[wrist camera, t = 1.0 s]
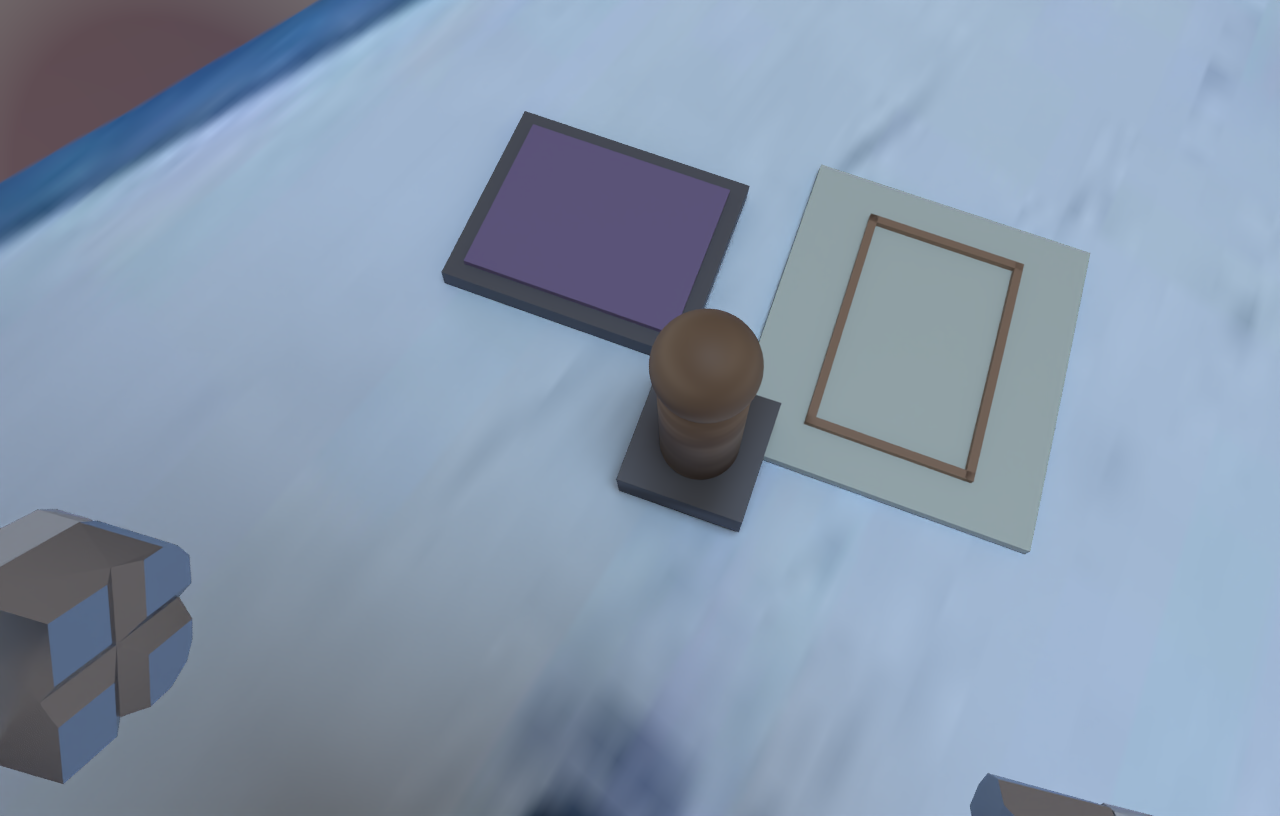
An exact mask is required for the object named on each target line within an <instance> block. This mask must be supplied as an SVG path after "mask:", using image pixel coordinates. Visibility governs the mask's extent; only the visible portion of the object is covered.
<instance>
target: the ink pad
mask: <svg viewBox="0 0 1280 816" xmlns="http://www.w3.org/2000/svg"><path fill="white" fill-rule="evenodd" d="M749 187H750V186H748V185H745V184H742V183H739V182H736V181H733V180H730V179H727V178H724V177H721V176H718V175H715V174H712V173H709V172H706V171H703V170H700V169H697V168H694V167H691V166H688V165H685V164H682V163H679V162H676V161H673V160H670V159H667V158H664V157H661V156H658V155H655V154H652V153H649V152H646V151H643V150H640V149H637V148H634V147H631V146H628V145H625V144H622V143H619V142H616V141H613V140H610V139H607V138H604V137H601V136H598V135H595V134H592V133H589V132H586V131H583V130H580V129H577V128H574V127H571V126H568V125H565V124H562V123H559V122H556V121H553V120H550V119H547V118H544V117H541V116H538V115H535V114H532V113H529V112H526V111H525V112H524V114H523V116H522V118H521V120H520V122H519V124H518V125H517V127H516V129H515V131H514V133H513V135H512V137H511V139H510V141H509V143H508V145H507V147H506V149H505V151H504V153H503V154H502V156H501V158H500V160H499V162H498V164H497V166H496V168H495V170H494V172H493V174H492V176H491V178H490V180H489V182H488V183H487V185H486V187H485V189H484V191H483V193H482V195H481V197H480V199H479V201H478V203H477V205H476V207H475V209H474V211H473V212H472V214H471V216H470V218H469V220H468V222H467V224H466V226H465V228H464V230H463V232H462V234H461V236H460V238H459V239H458V241H457V243H456V245H455V247H454V249H453V251H452V253H451V255H450V257H449V259H448V261H447V263H446V265H445V267H444V268H443V270H442V275H443V278H444V281H445V283H447V284H450V285H453V286H456V287H458V288H461V289H464V290H467V291H470V292H472V293H475V294H478V295H481V296H484V297H487V298H489V299H492V300H495V301H498V302H501V303H504V304H506V305H509V306H512V307H515V308H518V309H521V310H523V311H526V312H529V313H532V314H535V315H538V316H540V317H543V318H546V319H549V320H552V321H555V322H557V323H560V324H563V325H566V326H569V327H572V328H574V329H577V330H580V331H583V332H586V333H589V334H591V335H594V336H597V337H600V338H603V339H605V340H608V341H611V342H614V343H617V344H620V345H622V346H625V347H628V348H631V349H634V350H637V351H639V352H642V353H645V354H648V355H650V353H651V349H652V346H653V344H654V342H655V340H656V338H657V336H658V335H659V333H660V331H661V330H662V329H663V328H664V327H665V326H666V325H667V324H668V323H669V322H670V321H672V320H673V319H674V318H676V317H677V316H679V315H681V314H683V313H686V312H688V311H692V310H696V309H704V307H705V305H706V302H707V300H708V297H709V294H710V292H711V289H712V287H713V284H714V281H715V279H716V276H717V273H718V271H719V268H720V266H721V263H722V260H723V258H724V255H725V253H726V250H727V247H728V245H729V242H730V239H731V237H732V234H733V232H734V229H735V226H736V224H737V221H738V219H739V216H740V213H741V211H742V208H743V205H744V203H745V200H746V197H747V194H748V190H749Z"/></svg>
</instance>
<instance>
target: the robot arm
mask: <svg viewBox="0 0 1280 816" xmlns="http://www.w3.org/2000/svg"><path fill="white" fill-rule="evenodd" d="M190 584H191V570H190V557H189V555H188V554H187V553H186V552H185V551H184V550H183V549H181V548H180V547H179V546H178V545H175V544H172V543H168V542H165V541H162V540H159V539H155V538H152V537H149V536H146V535H142V534H139V533H136V532H133V531H129V530H126V529H123V528H120V527H116V526H113V525H110V524H107V523H103V522H100V521H93V520H91V519H88V518H85V517H82V516H78V515H75V514H71V513H68V512H65V511H61V510H58V509H40V510H36V511H34V512H32V513H30V514H28V515H26V516H24V517H22V518H20V519H18V520H16V521H14V522H12V523H11V524H9V525H7V526H5V527H3V528H1V529H0V766H3V767H7V768H10V769H14V770H17V771H20V772H24V773H27V774H31V775H34V776H38V777H41V778H44V779H48V780H51V781H55V782H58V783H62V784H64V783H65V782H66V781H67V780H68V779H70V778H71V777H72V776H73V775H74V774H75V773H76V772H78V771H79V770H80V769H81V768H82V767H83V766H84V765H85V764H87V763H88V762H89V761H90V760H91V759H92V758H93V757H94V756H96V755H97V754H98V753H99V752H100V751H101V750H102V749H104V748H105V747H106V746H107V745H108V744H109V743H110V742H111V741H113V740H114V739H115V738H116V737H117V735H118V729H119V722H120V717H122V716H125V715H128V714H130V713H133V712H136V711H139V710H142V709H145V708H148V707H151V706H152V705H153V704H154V703H155V702H156V701H157V700H158V699H159V698H160V697H161V696H162V695H164V694H165V693H166V692H167V691H168V690H169V689H170V688H171V687H172V685H173V684H174V682H175V680H176V679H177V677H178V675H179V674H180V672H181V670H182V669H183V667H184V665H185V663H186V662H187V659H188V655H189V651H190V647H191V643H192V618H191V616H190V614H189V613H188V611H187V609H186V608H185V606H184V605H183V603H182V601H181V600H180V598H179V596H180V595H181V594H182V593H183V592H184V590H185V589H186V588H187V587H188V586H189V585H190ZM970 810H971V816H1152V815H1148V814H1144V813H1141V812H1137V811H1133V810H1129V809H1125V808H1121V807H1117V806H1113V805H1109V804H1105V803H1103V804H1098V803H1094V802H1091V801H1087V800H1084V799H1080V798H1076V797H1073V796H1069V795H1065V794H1062V793H1058V792H1054V791H1051V790H1047V789H1044V788H1040V787H1036V786H1033V785H1029V784H1025V783H1022V782H1018V781H1015V780H1011V779H1007V778H1004V777H1000V776H996V775H993V774H989V773H987V775H986V776H985V777H984V778H983V780H982V781H981V782H980V783H979V785H978V787H977V790H976V792H975V794H974V797H973V799H972V802H971V804H970Z"/></svg>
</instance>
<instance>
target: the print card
mask: <svg viewBox="0 0 1280 816" xmlns="http://www.w3.org/2000/svg"><path fill="white" fill-rule="evenodd" d="M1089 257H1090V253H1088V252H1085V251H1082V250H1079V249H1076V248H1073V247H1070V246H1067V245H1064V244H1061V243H1058V242H1055V241H1052V240H1049V239H1046V238H1043V237H1040V236H1037V235H1034V234H1031V233H1028V232H1024V231H1021V230H1018V229H1015V228H1012V227H1009V226H1006V225H1003V224H1000V223H997V222H994V221H991V220H988V219H985V218H982V217H979V216H976V215H973V214H970V213H967V212H964V211H961V210H958V209H955V208H952V207H949V206H946V205H943V204H939V203H936V202H933V201H930V200H927V199H924V198H921V197H918V196H915V195H912V194H909V193H906V192H903V191H900V190H897V189H894V188H891V187H888V186H885V185H882V184H879V183H876V182H873V181H870V180H867V179H864V178H861V177H858V176H854V175H851V174H848V173H845V172H842V171H839V170H836V169H833V168H830V167H827V166H824V165H821V167H820V169H819V172H818V175H817V178H816V181H815V184H814V186H813V189H812V192H811V195H810V198H809V201H808V204H807V207H806V209H805V212H804V215H803V218H802V221H801V224H800V227H799V229H798V232H797V235H796V238H795V241H794V244H793V247H792V249H791V252H790V255H789V258H788V261H787V264H786V267H785V269H784V272H783V275H782V278H781V281H780V284H779V287H778V289H777V292H776V295H775V298H774V301H773V304H772V307H771V309H770V312H769V315H768V318H767V321H766V324H765V327H764V329H763V332H762V335H761V338H760V341H759V344H760V347H761V350H762V353H763V359H764V372H763V378H762V382H761V385H760V388H759V390H758V392H757V394H756V395H758V396H761V397H765V398H768V399H771V400H774V401H777V402H780V403H781V406H780V409H779V412H778V415H777V418H776V421H775V424H774V427H773V430H772V433H771V436H770V439H769V443H768V446H767V449H766V452H765V455H764V458H763V460H765V461H768V462H771V463H773V464H776V465H779V466H782V467H784V468H787V469H790V470H793V471H796V472H798V473H801V474H804V475H807V476H809V477H812V478H815V479H818V480H821V481H823V482H826V483H829V484H832V485H834V486H837V487H840V488H843V489H846V490H848V491H851V492H854V493H857V494H860V495H862V496H865V497H868V498H871V499H873V500H876V501H879V502H882V503H885V504H887V505H890V506H893V507H896V508H898V509H901V510H904V511H907V512H910V513H912V514H915V515H918V516H921V517H923V518H926V519H929V520H932V521H935V522H937V523H940V524H943V525H946V526H949V527H951V528H954V529H957V530H960V531H962V532H965V533H968V534H971V535H974V536H976V537H979V538H982V539H985V540H987V541H990V542H993V543H996V544H999V545H1001V546H1004V547H1007V548H1010V549H1012V550H1015V551H1018V552H1021V553H1024V554H1026V553H1028V552H1030V550H1031V545H1032V540H1033V535H1034V530H1035V525H1036V520H1037V515H1038V510H1039V505H1040V500H1041V495H1042V490H1043V485H1044V480H1045V475H1046V470H1047V465H1048V460H1049V455H1050V450H1051V446H1052V441H1053V436H1054V431H1055V426H1056V421H1057V416H1058V411H1059V406H1060V401H1061V396H1062V391H1063V386H1064V381H1065V376H1066V371H1067V366H1068V361H1069V356H1070V351H1071V346H1072V341H1073V336H1074V331H1075V326H1076V321H1077V316H1078V311H1079V307H1080V302H1081V297H1082V292H1083V287H1084V282H1085V277H1086V272H1087V267H1088V262H1089Z"/></svg>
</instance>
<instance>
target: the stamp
mask: <svg viewBox="0 0 1280 816" xmlns="http://www.w3.org/2000/svg"><path fill="white" fill-rule="evenodd" d="M763 372H764V359H763V353H762V350H761V347H760V344H759V342H758V339H757V338H756V336H755V334H754V333H753V332H752V330H751V329H750V328H749V327H748V326H747V325H746V324H745V323H744V322H743V321H742V320H740V319H739V318H737V317H736V316H734V315H732V314H730V313H727V312H725V311H721V310H717V309H696V310H692V311H688V312H686V313H683V314H681V315H679V316H677V317H676V318H674V319H673V320H672V321H670V322H669V323H668V324H667V325H666V326H665V327H664V328H663V329H662V330H661V331H660V333H659V335H658V336H657V338H656V340H655V342H654V344H653V346H652V349H651V353H650V359H649V374H650V379H651V383H652V387H651V390H650V392H649V395H648V398H647V400H646V403H645V406H644V408H643V411H642V413H641V416H640V419H639V421H638V424H637V426H636V429H635V432H634V434H633V437H632V439H631V442H630V445H629V447H628V450H627V453H626V455H625V458H624V460H623V463H622V466H621V468H620V471H619V473H618V476H617V479H616V480H617V484H618V488H619V490H620V491H622V492H625V493H628V494H631V495H634V496H637V497H640V498H642V499H645V500H648V501H651V502H654V503H657V504H660V505H663V506H665V507H668V508H671V509H674V510H677V511H680V512H683V513H685V514H688V515H691V516H694V517H697V518H700V519H703V520H705V521H708V522H711V523H714V524H717V525H720V526H723V527H726V528H728V529H731V530H734V531H737V532H739V529H740V526H741V524H742V521H743V518H744V515H745V512H746V509H747V506H748V503H749V500H750V497H751V494H752V491H753V488H754V485H755V482H756V479H757V476H758V473H759V470H760V467H761V464H762V461H763V458H764V455H765V452H766V449H767V446H768V443H769V439H770V436H771V433H772V430H773V427H774V424H775V421H776V418H777V415H778V412H779V409H780V406H781V403H780V402H777V401H774V400H771V399H768V398H765V397H761V396H758V395H756V394H757V392H758V390H759V388H760V385H761V382H762V378H763Z"/></svg>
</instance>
